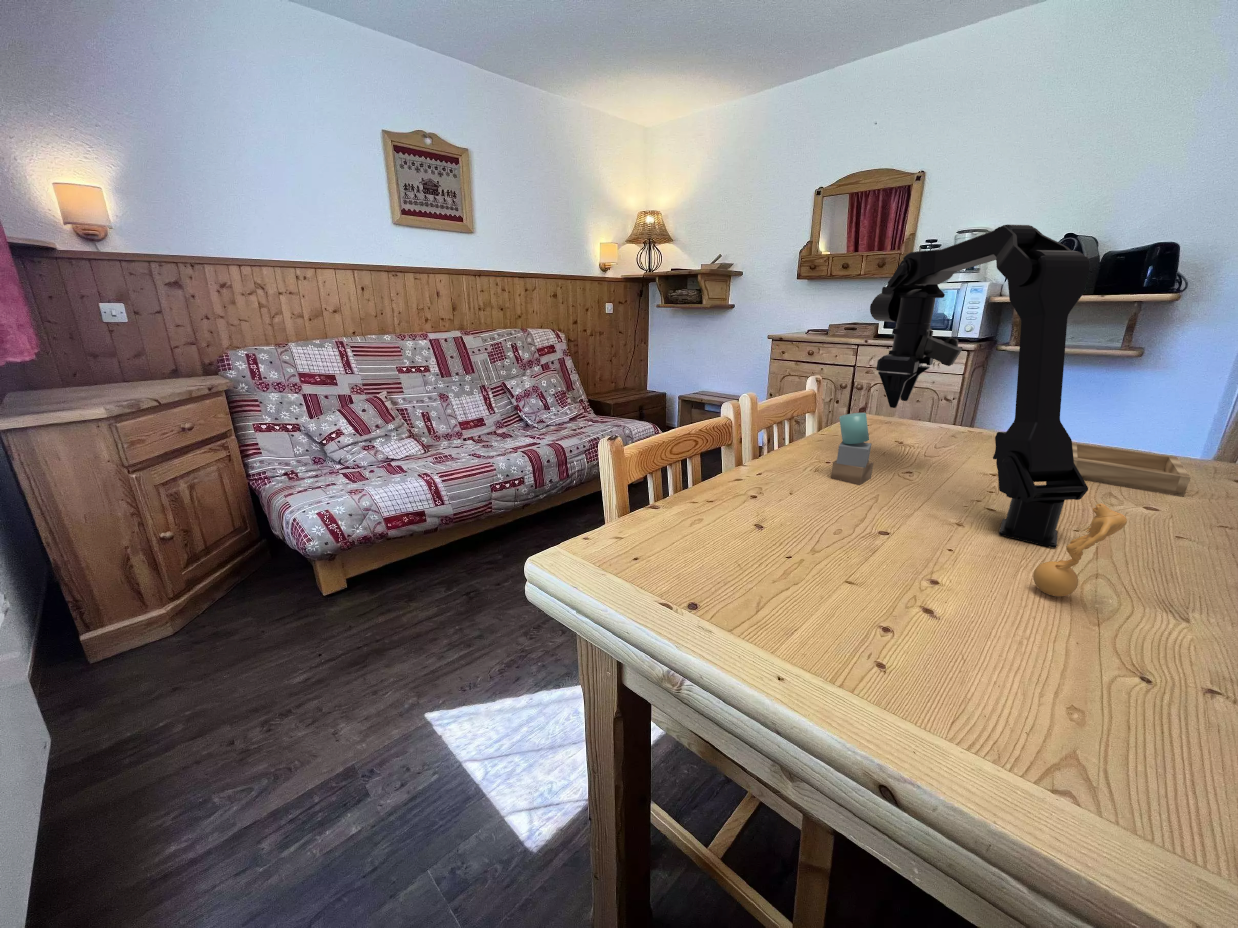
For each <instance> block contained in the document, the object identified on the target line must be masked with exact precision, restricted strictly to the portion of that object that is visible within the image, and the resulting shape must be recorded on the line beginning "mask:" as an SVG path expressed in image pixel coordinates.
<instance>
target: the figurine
mask: <svg viewBox="0 0 1238 928" xmlns="http://www.w3.org/2000/svg"><path fill="white" fill-rule="evenodd" d="M1092 512H1094V514H1095V516H1094V517H1093V519H1092V521H1091V525H1090V527H1088V528H1087V530H1086V531H1085V533H1087V534H1086V535H1085V534H1084V535H1082V536H1080V537H1077V538H1074V539H1072V540H1070V542H1069V544H1067V545H1066V552H1067V553H1068V554H1069V556H1070V559H1067V560H1063V559H1060V560H1058V561H1051V560H1050V561H1045V562H1043V563H1040V564H1038V566H1036V567H1035V569H1034V571H1033V574H1032V580H1033V583H1034V585H1035V586H1036V587H1037V588H1038V589H1039V590H1040V591H1041V592H1042V593H1044V594H1046V595H1049V596H1053V597H1066V596H1070V595H1071V594H1073V593H1074V592H1075V591H1076V590H1077V589H1078V586H1079V577H1078V574H1077V573H1076V571H1075V570H1074V569H1073V568H1072V567H1074V566H1076V565H1078V564H1079V562H1080V560H1081V559H1082V556H1084V555H1083V554H1084V553H1083V550H1088V549H1090V548H1091V547H1093V546H1094V545H1096V544H1097V543H1099V542H1102V541H1105V540H1106V539H1107V537H1110V536H1112V535H1115V533H1116V534H1117V533H1118V532H1119V531H1121V530H1122V529H1123V528H1125V526H1126V525H1127V523H1128V520H1127V517H1126V516H1125V515H1124V514H1122V513H1120V512H1117V511H1115V510H1112V509H1110V507H1108V506H1107V505H1105V504H1104V503H1097V504H1095V506H1094V507H1093V508H1092Z"/></svg>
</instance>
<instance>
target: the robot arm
mask: <svg viewBox="0 0 1238 928" xmlns="http://www.w3.org/2000/svg"><path fill="white" fill-rule="evenodd" d="M993 261H996V269H997V270H998V272H999V273H1001V275H1002V276H1003V277H1004V278H1005V279H1006V280H1007V284H1008V285H1007V286H1008V287H1007V288H1008V297H1009V302H1010V304H1011V305H1012V307H1013V309H1014V310H1015V312H1016V313H1017V315H1018V318H1020V322H1021V323H1020V334H1019V335H1020V338H1019V351H1018V352H1019V353H1018V366H1017V367H1018V368H1017V382H1016V395H1015V397H1016V398H1015V410H1014V412H1015V413H1014V420H1013V422H1012V423H1011V425H1010V426H1009V427H1008V429H1007V430H1006V431H997V432H996V434H995V436H994V441H995V450H994V454H993V456H992V460H996V468H997V478H998V479H997V481H998V490H999V492H1000V493H1003V494H1005V496H1006V497H1007V498H1010V499H1011V500H1010V503H1009V506H1008V507H1009V508H1008V512H1007V514H1006V518H1003V519H1002V521H1001V523H1000V524H1001V525H1000V528H999V530H998V535H1000V536H1002V537H1007V538H1012V539H1015V540H1018V541H1019V540H1020V541H1024V542H1027V543H1028V542H1029V543H1032V544H1036V545H1040V546H1044V547H1049V548H1057V546H1058V530H1057V527H1058V524H1059V521H1060V517H1061V515H1062V510H1063V507H1064V503H1065V501H1069V500H1075V501H1080V500H1081V499H1082V498H1083V497H1084V496H1085V495H1086V494H1087V492H1088V491H1089V487H1088V485H1087V483H1086V482H1085V481H1086V480H1083V478H1082V476H1081V474H1080V473H1079V471H1078V469H1077V467H1076V466H1075V464H1074V458H1073V448H1072V443H1073V441H1072V438H1071V436H1070V434H1069V433H1068V432H1067V430H1066V429H1065V427H1064V424H1063V423H1062V422H1061V407H1062V406H1061V405H1062V395H1063V393H1062V392H1063V383H1064V381H1063V380H1064V367H1065V356H1066V355H1065V353H1066V341H1067V329H1068V318H1069V314H1070V313H1071V311H1072V310H1073V309H1074V308H1075V306H1076V305H1077V304H1078V302H1079V300H1080V299H1081V297H1082V296H1083V294H1084V292H1085V288H1086V284H1087V280H1088V277H1089V273H1090V259H1089V258H1088V256H1087V255H1084V254H1083V253H1082V252H1081V251H1076V250H1072V249H1070V248H1069V247H1068V246H1066V245H1064V244H1063V243H1061V242H1059V241H1057V240H1054V239H1052V238H1051V237H1048V236H1046V235H1045V234H1043V233H1042V232H1041V231H1040V230H1039V229H1037V228H1036V227H1034V226H1032V225H1030V224H1003V225H1001V226H997V227H996V228H994V230H991V231H989V232H986V233H983V234H979V235H978V236H975V237H972V238H969V239H966V240H964V241H962V242H961V241H960V242H958V243H956V244H953V245H949V246H948V247H944V248H941V249H933V250H932V249H929V250H928V249H927V250H919V251H912V252H911V251H910V252H908V253H906V255H904V256H903V260H902V261H901V262H900V263H899V265H898V267H896V270H895V271H894V273H893V275H892V276H891V278H889V280H888V281H887V285H886V286H883V287H882V289H881V292H880V293H879V294H877V295H876V296H875V297H874V299H873V300H872V301H871V304H870V307H869V311H870V312H869V313H870V315H871V317H872V319H873V320H875V321H879V322H888V323H890V322H891V323H895V328H892V332H891V334H892V335H894V336H893V341H892V342H893V343H892V347H891V349H890V350H888V354H885V355H883V356H881V357H880V358H879V359H877V362H876V369H875V371H878V372H877V375H879V377H880V381H881V383H882V386H883V390H884V393H885V396H886V399H887V402H888V405H889V408H890V409H896V408H897V407H898V404H899V402H900V400H901V401H902V402H907V401H908V400H909V399H910V396H911V394H912V392H913V390H914V387H915V385H916V383H917V382H918V379H919V376H920V375H922V374H923V373H924V372H926V371H927V370H929V369H930V368H931V366H932V365H933V364H934V361H937V362H940V363H941V364H942V365H944V366H947V367H951V366H953V365H954V363H955V362H956V360H957V359H958V357H959V356H960V355H961V352H962V351H963V348H962V347H961V346H959V339H956V338H954V337H951V336H950V337H948V338H946V339H945V340H942V339H938V338H936V337H933V335H934V330H933V328H931V324H932V319H933V315H934V309H935V304H936V299H943V298H945V296H946V295H945V292H944V291H943V290H941V288H940V287H939V285H940V284H942V283H945V282H946V281H948V280H950V279H951V278H952V277H953V275H954V274H956V273H957V272H960V271H964V270H966V269H970V268H973V267H977V266H980V265H983V264H987V263H991V262H993ZM923 364H925V365H923ZM1040 482H1041V483H1042V482H1045V484H1035V483H1040Z"/></svg>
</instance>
